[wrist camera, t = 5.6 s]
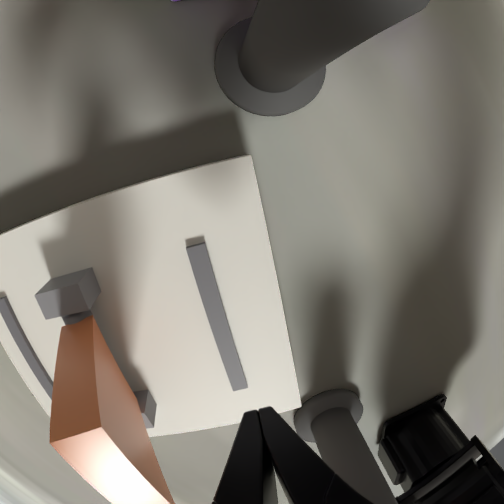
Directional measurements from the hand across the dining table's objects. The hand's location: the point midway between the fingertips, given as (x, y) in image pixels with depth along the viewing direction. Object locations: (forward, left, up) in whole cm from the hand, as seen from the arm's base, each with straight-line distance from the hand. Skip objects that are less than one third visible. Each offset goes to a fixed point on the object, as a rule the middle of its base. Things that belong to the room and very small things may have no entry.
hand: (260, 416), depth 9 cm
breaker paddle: (+7, 0, -5) cm, 9 cm away
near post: (-4, -11, -8) cm, 14 cm away
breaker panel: (+6, 0, -8) cm, 10 cm away
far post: (-4, +11, -8) cm, 14 cm away
